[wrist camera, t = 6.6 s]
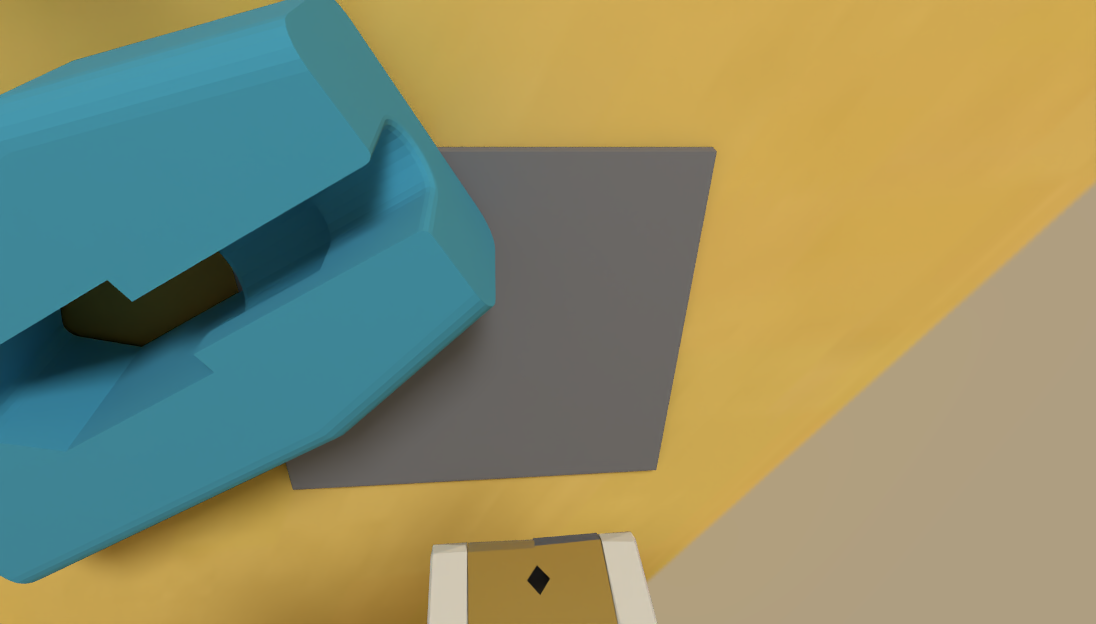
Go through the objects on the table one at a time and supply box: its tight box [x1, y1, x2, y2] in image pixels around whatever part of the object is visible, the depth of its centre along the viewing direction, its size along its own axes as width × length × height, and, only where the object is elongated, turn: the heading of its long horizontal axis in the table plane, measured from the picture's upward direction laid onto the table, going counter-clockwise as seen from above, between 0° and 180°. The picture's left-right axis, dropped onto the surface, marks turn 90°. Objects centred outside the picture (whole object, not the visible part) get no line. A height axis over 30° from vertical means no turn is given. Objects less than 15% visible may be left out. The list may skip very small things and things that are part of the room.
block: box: [0, 0, 496, 584], centre depth 19 cm, size 12×5×20 cm
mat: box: [233, 147, 717, 490], centre depth 24 cm, size 15×16×1 cm
